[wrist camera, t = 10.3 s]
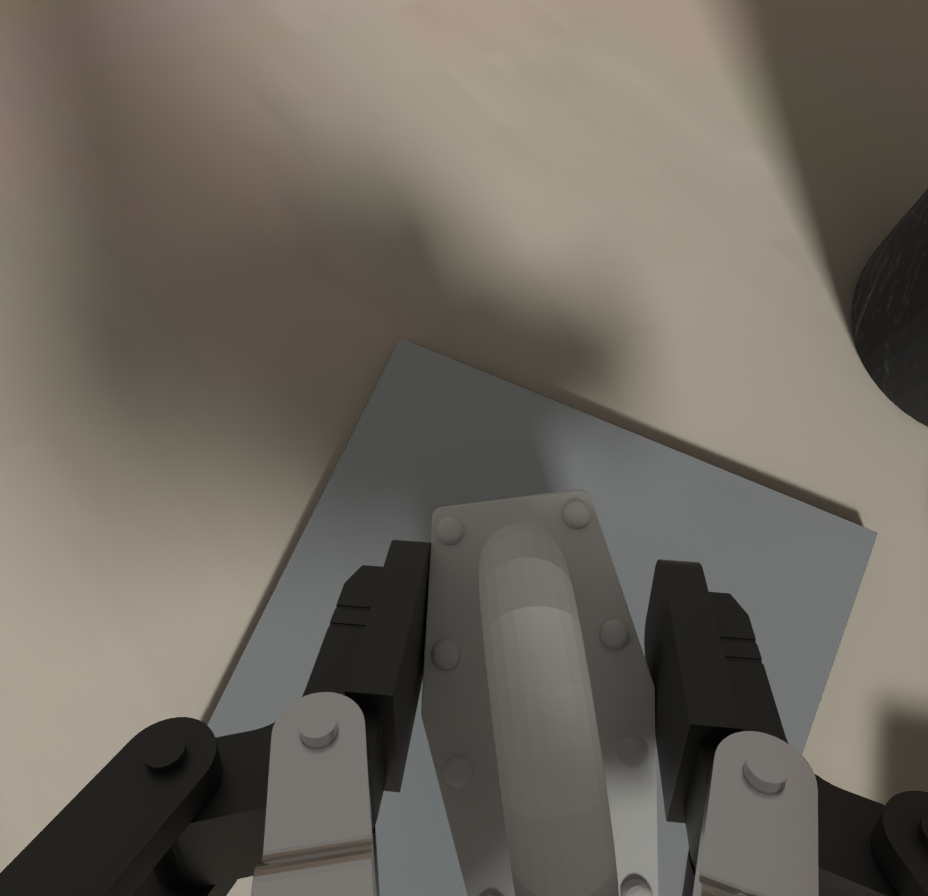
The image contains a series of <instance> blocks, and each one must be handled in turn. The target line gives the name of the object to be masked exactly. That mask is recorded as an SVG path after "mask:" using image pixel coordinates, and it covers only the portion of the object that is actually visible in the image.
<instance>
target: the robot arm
mask: <svg viewBox="0 0 928 896" xmlns="http://www.w3.org/2000/svg"><path fill="white" fill-rule="evenodd" d="M430 556H431V542H418V541H404V540H392V542H391V544H390V547H389V550H388V553H387V557H386V560H385V563H384V566H383V567H382V566H368V565H362V566H361V567H360V568H359V569H358V570H357V571H356V572H355V573H354V574H353V575H352V576H351V577H350V578H349V579H348V580H347V581H346V582H345V583H344V585H343V588H342V591H341V594H340V596H339V599H338V602H337V604H336V609H335V610H334V613H333V615H332V618H331V621H330V626H329V627H328V629H327V632H326V634H325V637H324V640H323V642H322V645H321V648H320V651H319V653H318V656H317V659H316V661H315V664H314V667H313V670H312V672H311V675H310V678H309V680H308V683H307V686H306V689H305V691H304V693H303V695H302V697H301V698H299V699H297V700H296V701H294V702H293V703H291V704H290V705H288V706H287V707H286V708H285V709H284V710H283V711H282V712H281V714H280V715H279V716H278V718H277V720H276V721H275V722H274V723H272V724H270V725H268V726H265V727H262V728H259V729H255V730H251V731H246V732H241V733H236V734H231V735H226V736H221V737H215V736H214V733H213V732H212V730H211V729H210V728H209V727H208V726H207V725H206V724H205V723H203V722H201V721H199V720H196V719H193V718H187V717H177V718H170V719H166V720H163V721H160V722H157V723H155V724H153V725H151V726H149V727H147V728H145V729H144V730H142V731H141V732H140V733H138V734H137V735H136V736H135V737H134V738H132V739H131V740H130V741H129V742H128V743H127V744H126V745H125V746H124V747H123V748H122V750H121V751H120V752H119V753H118V754H117V755H116V756H115V757H114V758H113V759H112V760H111V761H110V762H109V763H108V764H107V765H106V766H105V767H104V768H103V769H102V770H101V771H100V772H99V773H98V774H97V775H96V776H95V777H94V778H93V779H92V780H91V781H90V782H89V783H88V784H87V785H86V786H85V787H84V788H83V789H82V790H81V791H80V792H79V793H78V794H77V795H76V797H75V798H74V799H73V800H72V801H71V802H70V803H69V804H68V805H67V806H66V807H65V808H64V809H63V810H62V811H61V812H60V813H59V814H58V815H57V816H56V817H55V818H54V819H53V820H52V821H51V822H50V823H49V824H48V825H47V826H46V827H45V828H44V829H43V830H42V831H41V832H40V833H39V834H38V835H37V836H36V837H35V838H34V839H33V840H32V841H31V842H30V843H29V845H28V846H27V847H26V848H25V849H24V850H23V851H22V852H21V853H20V854H19V855H18V856H17V857H16V858H15V859H14V860H13V861H12V862H11V863H10V864H9V865H8V866H7V867H6V868H5V869H4V870H3V871H2V872H1V873H0V896H226V895H227V894H228V892H229V891H230V889H231V888H232V887H233V885H234V884H235V882H236V881H237V879H240V878H244V877H249V876H253V881H252V890H251V896H380V881H379V866H378V850H377V835H376V822H377V818H378V814H379V809H380V805H381V800H382V796H383V791H390V792H400V790H401V785H402V780H403V775H404V770H405V765H406V760H407V755H408V750H409V745H410V740H411V735H412V730H413V725H414V720H415V715H416V710H417V705H418V700H419V695H420V690H421V685H422V680H423V670H424V652H425V633H426V615H427V597H428V581H429V569H430ZM644 650H645V660H646V662H647V665H648V668H649V671H650V674H651V677H652V680H653V683H654V686H655V738H656V746H657V753H658V761H659V769H660V777H661V784H662V792H663V800H664V808H665V815H666V821H667V822H677V823H685V824H686V830H687V837H688V844H689V847H688V851H687V855H686V858H685V862H684V868H683V875H682V882H681V889H680V895H679V896H928V793H927V792H922V791H908V792H902V793H899V794H897V795H895V796H894V797H892V798H891V799H890V800H889V801H888V802H887V804H886V806H885V805H883V804H880V803H877V802H875V801H872V800H869V799H867V798H864V797H861V796H859V795H856V794H853V793H851V792H848V791H845V790H843V789H841V788H838V787H836V786H834V785H832V784H830V783H828V782H826V781H825V780H823V779H821V778H820V777H819V776H817V775H816V774H814V772H813V770H812V768H811V766H810V765H809V763H808V762H807V761H806V759H805V758H804V757H803V756H802V755H801V754H800V753H799V752H798V751H797V750H796V749H794V748H793V747H792V746H791V745H789V743H788V741H787V738H786V736H785V733H784V729H783V726H782V723H781V719H780V716H779V713H778V710H777V706H776V703H775V700H774V697H773V693H772V690H771V687H770V684H769V680H768V677H767V674H766V670H765V667H764V664H762V657H761V654H760V651H759V648H758V644H756V638H755V634H754V631H753V628H752V625H751V621H750V618H749V615H748V614H747V613H746V612H745V610H744V609H743V608H742V607H741V606H740V604H739V603H738V602H737V601H736V600H735V599H734V597H733V596H732V595H731V594H730V593H718V592H709V591H708V587H707V583H706V579H705V575H704V571H703V568H702V565H701V563H699V562H689V561H675V560H661V559H659V560H658V561H657V563H656V566H655V571H654V577H653V582H652V588H651V593H650V599H649V605H648V610H647V616H646V622H645V633H644Z"/></svg>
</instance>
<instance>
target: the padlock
mask: <svg viewBox="0 0 928 896" xmlns="http://www.w3.org/2000/svg"><path fill="white" fill-rule="evenodd" d="M421 717H422V721H423V724H424V728H425V732H426V736H427V740H428V744H429V748H430V752H431V756H432V760H433V763H434V767H435V771H436V775H437V779H438V783H439V787H440V791H441V795H442V799H443V803H444V806H445V810H446V814H447V818H448V822H449V826H450V830H451V834H452V838H453V842H454V845H455V849H456V853H457V857H458V861H459V865H460V869H461V873H462V877H463V881H464V884H465V888H466V892H467V896H658V846H657V783H656V738H655V686H654V683H653V680H652V677H651V674H650V671H649V668H648V665H647V662H646V660H645V657H644V654H643V651H642V648H641V645H640V642H639V639H638V636H637V633H636V630H635V627H634V624H633V621H632V618H631V615H630V612H629V609H628V606H627V603H626V600H625V597H624V594H623V591H622V588H621V586H620V583H619V580H618V577H617V574H616V571H615V568H614V565H613V562H612V559H611V556H610V553H609V550H608V547H607V544H606V541H605V538H604V535H603V532H602V529H601V526H600V523H599V520H598V517H597V514H596V512H595V509H594V506H593V503H592V500H591V497H590V494H589V493H588V492H587V491H585V490H582V489H576V490H569V491H561V492H553V493H545V494H538V495H530V496H522V497H515V498H507V499H499V500H492V501H484V502H476V503H468V504H461V505H453V506H445V507H439V508H438V509H436V510H435V511H434V513H433V514H432V525H431V556H430V569H429V581H428V597H427V615H426V633H425V652H424V670H423V688H422V706H421Z"/></svg>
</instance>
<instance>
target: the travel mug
mask: <svg viewBox="0 0 928 896" xmlns="http://www.w3.org/2000/svg"><path fill="white" fill-rule="evenodd" d="M852 319H853V331H854V336H855V340H856V345H857V348H858V350H859V353H860V356H861V358H862V361H863V363H864V364H865V366H866V368H867V370H868V372H869V374H870V375H871V377H872V378H873V380H874V381H875V382H876V384H877V385H878V387H879V388H880V389H881V390H882V391H883V392H884V394H885V395H886V396H887V397H888V398H889V399H890V400H891V401H892V402H893V403H894V404H895V405H897V406H898V407H899V408H900V409H901V410H902V411H904V412H905V413H906V414H908V415H909V416H911V417H912V418H914V419H915V420H917V421H918V422H920V423H922V424H924V425H926V426H927V427H928V189H927V190H926V192H925V193H924V194H923V195H922V196H921V197H920V199H919V200H918V201H917V202H916V203H915V204H914V205H913V207H912V208H911V209H910V210H909V211H908V212H907V213H906V215H905V216H904V217H903V218H902V219H901V220H900V222H899V223H898V224H897V225H896V226H895V228H894V229H893V230H892V231H891V232H890V234H889V235H888V236H887V237H886V238H885V240H884V241H883V242H882V243H881V245H880V246H879V247H878V248H877V250H876V251H875V252H874V254H873V255H872V256H871V258H870V259H869V261H868V262H867V264H866V266H865V268H864V269H863V271H862V274H861V276H860V279H859V281H858V284H857V287H856V291H855V296H854V300H853V312H852Z"/></svg>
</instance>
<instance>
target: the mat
mask: <svg viewBox="0 0 928 896" xmlns="http://www.w3.org/2000/svg"><path fill="white" fill-rule="evenodd" d="M576 489H582V490H585V491H587V492H588V493H589V494H590V497H591V500H592V503H593V506H594V509H595V512H596V514H597V517H598V520H599V523H600V526H601V529H602V532H603V535H604V538H605V541H606V544H607V547H608V550H609V553H610V556H611V559H612V562H613V565H614V568H615V571H616V574H617V577H618V580H619V583H620V586H621V588H622V591H623V594H624V597H625V600H626V603H627V606H628V609H629V612H630V615H631V618H632V621H633V624H634V627H635V630H636V633H637V636H638V639H639V642H640V645H641V648H642V651H643V654H644V657H645V650H644V633H645V622H646V616H647V610H648V605H649V599H650V593H651V588H652V582H653V577H654V571H655V566H656V563H657V561H658V560H659V559H661V560H675V561H689V562H699V563H701V565H702V568H703V571H704V575H705V579H706V583H707V587H708V591H709V592H718V593H730V594H731V595H732V596H733V597H734V599H735V600H736V601H737V602H738V603H739V604H740V606H741V607H742V608H743V609H744V610H745V612H746V613H747V614H748V615H749V618H750V621H751V625H752V628H753V631H754V634H755V638H756V644H758V648H759V651H760V654H761V657H762V664H764V667H765V670H766V674H767V677H768V680H769V684H770V687H771V690H772V693H773V697H774V700H775V703H776V706H777V710H778V713H779V716H780V719H781V723H782V726H783V729H784V733H785V736H786V738H787V741H788V743H789V745H791V746H792V747H793V748H794V749H796V750H797V751H798V752H799V753H800V754H801V755H802V753H803V750H804V747H805V744H806V741H807V738H808V735H809V732H810V729H811V726H812V724H813V721H814V718H815V715H816V712H817V709H818V706H819V703H820V700H821V697H822V694H823V691H824V688H825V686H826V683H827V680H828V677H829V674H830V671H831V668H832V665H833V662H834V659H835V656H836V653H837V650H838V648H839V645H840V642H841V639H842V636H843V633H844V630H845V627H846V624H847V621H848V618H849V615H850V613H851V610H852V607H853V604H854V601H855V598H856V595H857V592H858V589H859V586H860V583H861V580H862V577H863V575H864V572H865V569H866V566H867V563H868V560H869V557H870V554H871V551H872V548H873V545H874V542H875V540H876V537H877V534H878V533H877V532H875V531H872V530H870V529H867V528H865V527H862V526H860V525H858V524H855V523H853V522H850V521H848V520H845V519H843V518H840V517H838V516H836V515H833V514H831V513H828V512H826V511H823V510H821V509H818V508H816V507H814V506H811V505H809V504H806V503H804V502H801V501H799V500H796V499H794V498H792V497H789V496H787V495H784V494H782V493H779V492H777V491H774V490H772V489H769V488H767V487H765V486H762V485H760V484H757V483H755V482H752V481H750V480H747V479H745V478H743V477H740V476H738V475H735V474H733V473H730V472H728V471H725V470H723V469H721V468H718V467H716V466H713V465H711V464H708V463H706V462H703V461H701V460H699V459H696V458H694V457H691V456H689V455H686V454H684V453H681V452H679V451H677V450H674V449H672V448H669V447H667V446H664V445H662V444H659V443H657V442H655V441H652V440H650V439H647V438H645V437H642V436H640V435H637V434H635V433H632V432H630V431H628V430H625V429H623V428H620V427H618V426H615V425H613V424H610V423H608V422H606V421H603V420H601V419H598V418H596V417H593V416H591V415H588V414H586V413H584V412H581V411H579V410H576V409H574V408H571V407H569V406H566V405H564V404H562V403H559V402H557V401H554V400H552V399H549V398H547V397H544V396H542V395H540V394H537V393H535V392H532V391H530V390H527V389H525V388H522V387H520V386H517V385H515V384H513V383H510V382H508V381H505V380H503V379H500V378H498V377H495V376H493V375H491V374H488V373H486V372H483V371H481V370H478V369H476V368H473V367H471V366H469V365H466V364H464V363H461V362H459V361H456V360H454V359H451V358H449V357H447V356H444V355H442V354H439V353H437V352H434V351H432V350H429V349H427V348H425V347H422V346H420V345H417V344H415V343H412V342H410V341H407V340H405V339H403V338H400V339H399V341H398V343H397V345H396V347H395V349H394V351H393V353H392V355H391V357H390V359H389V361H388V363H387V365H386V367H385V369H384V371H383V373H382V375H381V377H380V379H379V381H378V383H377V385H376V387H375V389H374V391H373V393H372V395H371V397H370V399H369V401H368V403H367V405H366V407H365V409H364V411H363V413H362V415H361V417H360V419H359V421H358V423H357V425H356V427H355V429H354V431H353V433H352V435H351V437H350V439H349V441H348V443H347V445H346V447H345V449H344V451H343V453H342V455H341V457H340V459H339V461H338V463H337V465H336V467H335V469H334V471H333V473H332V475H331V478H330V480H329V482H328V484H327V486H326V488H325V490H324V492H323V494H322V496H321V498H320V500H319V502H318V504H317V506H316V508H315V510H314V512H313V514H312V516H311V518H310V520H309V522H308V524H307V526H306V528H305V530H304V532H303V534H302V536H301V538H300V540H299V542H298V544H297V546H296V548H295V550H294V552H293V554H292V556H291V558H290V560H289V562H288V564H287V566H286V568H285V570H284V572H283V574H282V576H281V578H280V580H279V582H278V584H277V586H276V588H275V590H274V592H273V594H272V596H271V598H270V600H269V602H268V604H267V606H266V608H265V610H264V612H263V614H262V616H261V618H260V620H259V622H258V624H257V626H256V628H255V630H254V632H253V634H252V636H251V638H250V640H249V642H248V644H247V646H246V648H245V650H244V652H243V654H242V656H241V658H240V660H239V662H238V664H237V666H236V668H235V670H234V672H233V674H232V676H231V678H230V680H229V682H228V684H227V686H226V688H225V690H224V692H223V694H222V696H221V698H220V700H219V702H218V704H217V706H216V708H215V710H214V712H213V715H212V717H211V719H210V721H209V723H208V725H207V726H208V727H209V728H210V729H211V730H212V732H213V733H214V736H215V737H221V736H226V735H231V734H236V733H241V732H246V731H251V730H255V729H259V728H262V727H265V726H268V725H270V724H272V723H274V722H275V721H276V720H277V718H278V716H279V715H280V714H281V712H282V711H283V710H284V709H285V708H286V707H287V706H288V705H290V704H291V703H293V702H294V701H296V700H297V699H299V698H301V697H302V695H303V693H304V691H305V689H306V686H307V683H308V680H309V678H310V675H311V672H312V670H313V667H314V664H315V661H316V659H317V656H318V653H319V651H320V648H321V645H322V642H323V640H324V637H325V634H326V632H327V629H328V627H329V626H330V621H331V618H332V615H333V613H334V610H335V609H336V604H337V602H338V599H339V596H340V594H341V591H342V588H343V585H344V583H345V582H346V581H347V580H348V579H349V578H350V577H351V576H352V575H353V574H354V573H355V572H356V571H357V570H358V569H359V568H360V567H361V566H362V565H368V566H382V567H383V566H384V563H385V560H386V557H387V553H388V550H389V547H390V544H391V542H392V540H404V541H418V542H431V525H432V514H433V513H434V511H435V510H436V509H438V508H439V507H445V506H453V505H461V504H468V503H476V502H484V501H492V500H499V499H507V498H515V497H522V496H530V495H538V494H545V493H553V492H561V491H569V490H576ZM422 688H423V680H422V685H421V690H420V695H419V700H418V705H417V710H416V715H415V720H414V725H413V730H412V735H411V740H410V745H409V750H408V755H407V760H406V765H405V770H404V775H403V780H402V785H401V790H400V792H390V791H383V796H382V800H381V805H380V809H379V814H378V818H377V822H376V835H377V850H378V866H379V881H380V896H467V892H466V888H465V884H464V881H463V877H462V873H461V869H460V865H459V861H458V857H457V853H456V849H455V845H454V842H453V838H452V834H451V830H450V826H449V822H448V818H447V814H446V810H445V806H444V803H443V799H442V795H441V791H440V787H439V783H438V779H437V775H436V771H435V767H434V763H433V760H432V756H431V752H430V748H429V744H428V740H427V736H426V732H425V728H424V724H423V721H422V717H421V706H422ZM656 783H657V846H658V896H679V895H680V889H681V882H682V875H683V868H684V862H685V858H686V855H687V851H688V847H689V844H688V837H687V830H686V824H685V823H677V822H667V821H666V815H665V808H664V800H663V792H662V784H661V777H660V769H659V761H658V753H657V746H656Z"/></svg>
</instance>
